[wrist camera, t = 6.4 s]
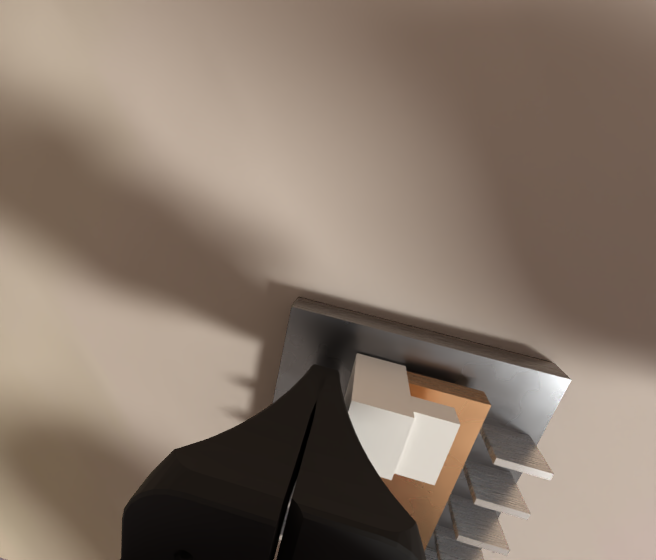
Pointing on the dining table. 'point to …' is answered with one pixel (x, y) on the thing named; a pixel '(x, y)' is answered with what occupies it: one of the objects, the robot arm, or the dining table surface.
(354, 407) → the white stepped block
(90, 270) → the dining table surface
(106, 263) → the dining table surface
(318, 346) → the heatsink
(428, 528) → the brown flat bar
